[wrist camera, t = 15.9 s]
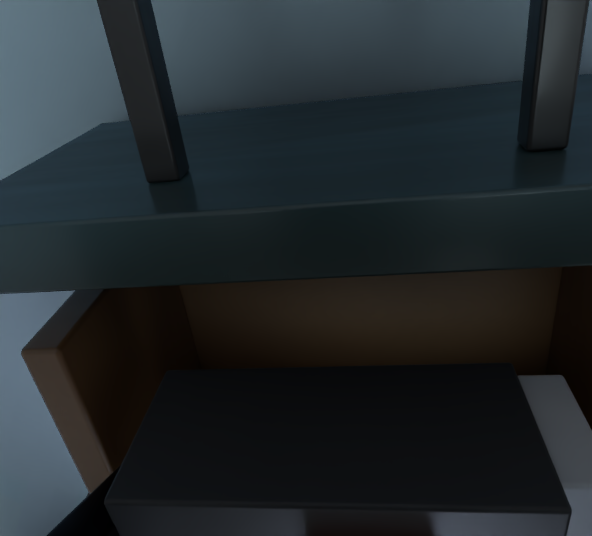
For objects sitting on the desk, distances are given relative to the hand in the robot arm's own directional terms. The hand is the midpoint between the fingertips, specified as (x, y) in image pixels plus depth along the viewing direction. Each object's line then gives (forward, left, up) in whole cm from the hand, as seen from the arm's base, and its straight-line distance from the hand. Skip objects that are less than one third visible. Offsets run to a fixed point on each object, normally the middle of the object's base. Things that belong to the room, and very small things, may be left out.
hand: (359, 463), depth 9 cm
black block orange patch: (0, 0, -1) cm, 1 cm away
